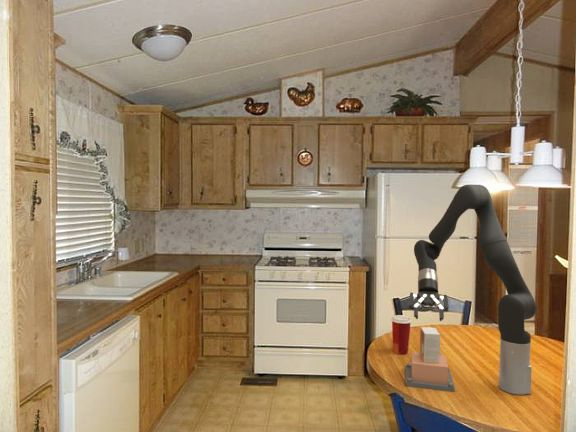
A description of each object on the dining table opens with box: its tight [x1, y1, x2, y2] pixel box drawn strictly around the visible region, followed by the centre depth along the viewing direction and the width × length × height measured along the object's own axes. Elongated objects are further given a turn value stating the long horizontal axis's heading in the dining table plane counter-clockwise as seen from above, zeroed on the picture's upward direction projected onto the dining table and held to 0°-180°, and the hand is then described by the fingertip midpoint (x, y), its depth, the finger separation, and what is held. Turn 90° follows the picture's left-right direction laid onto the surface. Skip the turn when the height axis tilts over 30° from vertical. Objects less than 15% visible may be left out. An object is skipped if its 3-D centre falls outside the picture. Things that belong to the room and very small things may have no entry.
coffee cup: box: [390, 314, 412, 356], centre depth 185 cm, size 8×8×15 cm
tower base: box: [404, 351, 456, 393], centre depth 158 cm, size 16×16×8 cm
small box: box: [419, 326, 441, 363], centre depth 157 cm, size 8×6×10 cm
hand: (428, 319), depth 163 cm, fingers open, 8 cm apart
